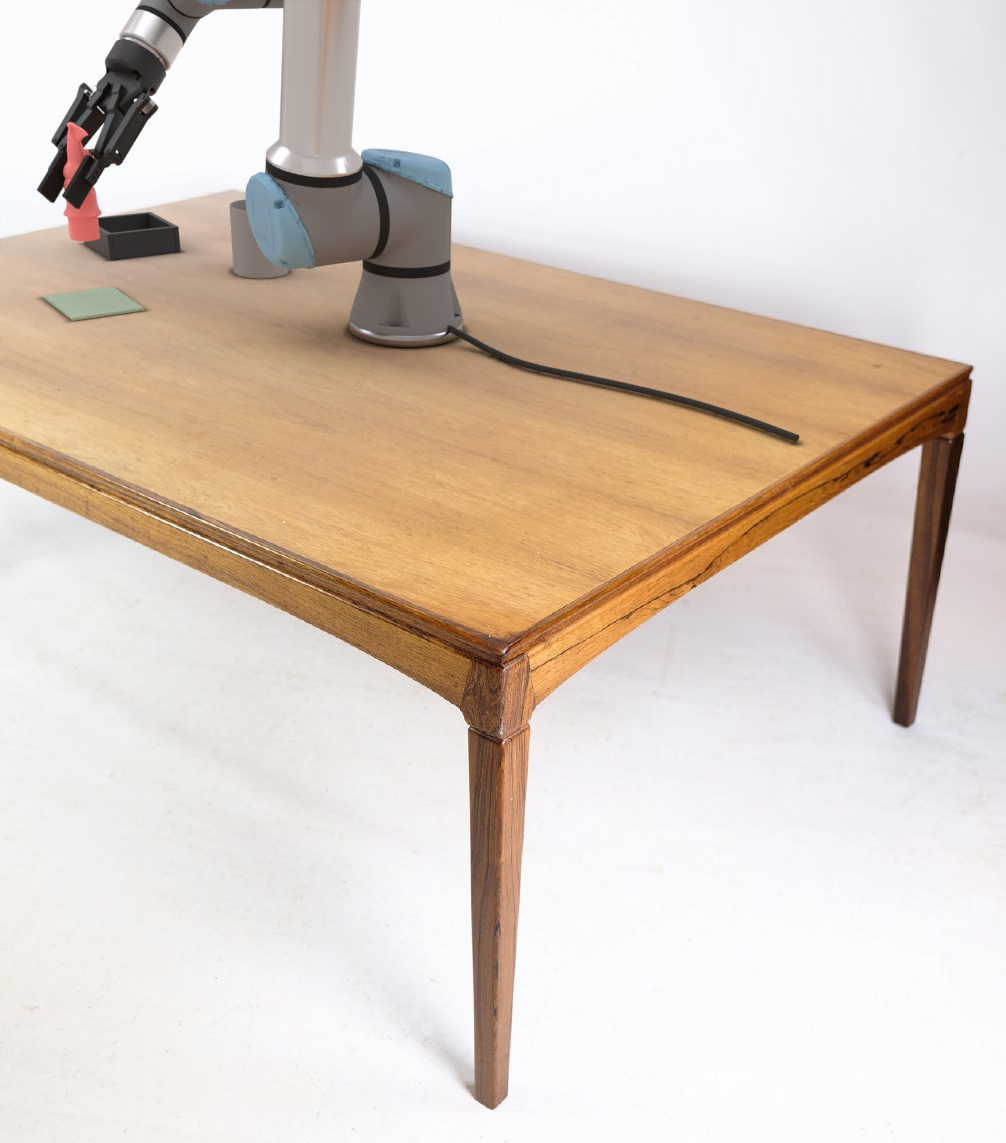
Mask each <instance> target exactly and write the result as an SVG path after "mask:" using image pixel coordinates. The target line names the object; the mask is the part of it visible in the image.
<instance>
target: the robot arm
mask: <svg viewBox="0 0 1006 1143" xmlns="http://www.w3.org/2000/svg"><path fill="white" fill-rule="evenodd" d="M361 7H362V0H140V1H139V3H138V5H137V6H136V8H135V9H134V11H133V12H132V13H131V15H130V16H129V19H127V21H126V23H125V25H124V26H123V28H122V29H121V31H120V32H119V34H118V36H119V37H118V39H117V40H116V41H115V42H114V43H113V45H112V47H111V49H110V50H109V52H108V53H107V55H106V57H105V58H104V66H105V74H104V75H103V76H102V77H101V78H100V79H99V80H98V81H97V83H96V85H92V86H89V85H88V84H87V83H86V82H82V83H80V84H79V86H78V89H77V92H76V97H75V99H74V100H73V101H72V103H71V105H70V106H69V109H68V110H67V112H66V114H65V115H64V117H63V119H62V120H61V122H60V124H59V126H58V128H57V129H56V131H55V133H54V134H53V136H52V138H51V140H50V141H51V143H52V145H54V146H55V148H56V149H57V153H56V154H55V156H54V158H53V159H52V161H51V162H50V164H49V166H48V168H47V172H46V173H45V175H44V176H43V178H42V180H41V182H40V183H39V184H38V187H37V188H36V192H38V193H39V194H40V195H41V196H42V197H44V198H45V199H46V200H47V201H48V202H49V203H52V204H55V202H56V201H57V199H58V197H59V196H60V194H61V192H62V190H64V181H65V179H66V178H65V177H64V174H63V169H64V166H65V165H66V163H67V160H68V157H67V135H68V127H67V123H69V122H73V123H75V124H76V126H79V127H81V128H82V129H84V130H85V131H86V132H87V134H88V136H86V137H84V138H83V139H82V140H81V143H82V145H83V148H84V149H85V147H86V146H87V145H88V143H89V142H90V141H91V140H92V138H94V136H95V135H96V134H97V132H98V131H99V130H100V128H101V130H100V132H99V135H98V138H97V140H96V143H95V145H94V147H93V148H88V149H89V150H88V151H89V152H90V153H91V154H92V155H93V158H92V157H91V156H90V155H86V156H85V157H84V159H83V161H82V162H81V164H80V166H79V167H78V169H77V171H76V172H75V174H74V176H73V178H72V179H71V181H70V183H69V184H68V186H67V188H66V189H65V191H63V192H62V195H61V197H62V198H63V199H64V200H65V201H66V200H67V201H68V202H69V203H70V204H71V205H72V206H73V207H74V208H76V209H80V207H81V205H82V204H83V202H84V200H85V198H86V197H87V195H88V193H89V192H90V190H91V188H92V186H94V187H95V185H96V184H97V183H98V182H99V179H100V177H101V176H102V174H103V172H104V171H105V170H106V169H108V168H109V167H111V166H112V165H115V166H116V167H119V166H121V165H122V164H123V162H124V161H125V159H126V158H127V156H128V154H129V153H130V151H131V149H132V147H133V146H134V144H135V143H136V141H137V139H138V138H139V136H140V135H141V133H142V131H143V129H144V127H145V126H146V124H147V123H148V121H149V120H150V119H151V118H152V117H153V116H154V115H155V114H156V113H157V111H158V110H159V105H158V104H157V103H156V102H155V101H154V100H153V99H152V98H151V97H153V96H155V95H156V94H157V92H158V90H159V89H160V87H161V85H162V84H163V82H164V80H165V78H166V77H167V72H168V71H169V70H170V69H172V68H171V67H172V66H173V64H174V63H175V61H176V59H177V58H178V55H179V53H180V52H181V50H182V49H183V48H184V46H185V44H186V42H187V40H188V38H189V37H190V35H191V33H192V32H193V31H194V29H195V27H196V26H197V24H198V23H199V22H200V20H202V19H203V18H205V17H207V16H209V15H210V14H211V13H213V12H214V11H220V10H260V9H282V33H281V34H282V36H281V38H282V40H281V67H280V68H281V70H280V97H279V99H280V100H279V101H280V102H279V132H278V139H277V140H276V141H274V143H272V145H270V146H269V147H268V148H267V149H266V151H265V164H264V165H265V168H264V172H263V171H262V172H261V171H259V172H257V173H255V174H253V175H251V176H250V177H249V179H248V182H247V183H246V186H245V193H244V194H245V196H244V199H245V201H246V210H247V215H248V220H249V224H250V227H251V230H252V233H253V235H254V237H255V240H256V242H257V244H258V246H259V248H260V250H261V251H262V253H263V254H264V256H265V257H266V258H267V259H268V260H269V261H270V262H271V263H272V264H273V265H275V266H276V267H278V268H281V269H285V270H289V271H290V270H300V269H301V270H302V269H304V270H312V269H314V268H320V267H326V266H327V267H328V266H332V265H333V266H334V265H339V264H347V263H353V262H360V261H362V271H361V272H362V273H361V277H360V280H359V283H358V288H357V290H356V292H355V296H354V300H353V303H352V306H351V309H350V313H349V331H350V333H351V334H352V335H353V336H355V337H356V338H358V339H360V340H362V341H365V342H367V343H372V344H375V345H381V346H388V347H401V348H403V347H404V348H415V347H416V348H417V347H429V346H436V345H443V344H445V343H448V342H451V341H454V340H456V339H458V338H460V339H462V340H464V341H465V342H466V343H469V344H471V345H472V346H474V347H476V348H478V349H479V350H481V351H483V352H485V353H486V354H490V355H491V356H493V357H495V358H498V359H500V360H501V361H504V362H507V363H510V364H512V365H515V366H519V367H521V368H525V369H527V370H531V371H536V372H539V373H543V374H548V375H554V376H558V377H562V378H569V379H573V380H578V381H581V382H587V383H592V384H596V385H602V386H606V387H611V388H615V389H619V390H625V391H628V392H629V391H630V392H633V393H638V394H642V395H647V396H651V397H655V398H658V399H663V400H668V401H671V402H676V403H679V404H682V405H686V406H690V407H692V408H697V409H700V410H704V411H706V412H709V413H713V414H716V415H719V416H721V417H726V418H728V419H732V420H735V421H737V422H740V423H742V424H746V425H749V426H751V427H754V428H757V429H760V430H763V431H766V432H769V433H771V434H774V435H776V436H779V437H782V438H783V439H786V440H789V441H792V442H795V443H797V442H799V440H800V434H797V433H796V432H795V433H794V432H792V431H789V430H786V429H784V428H781V427H778V426H776V425H773V424H771V423H769V422H768V423H767V422H766V421H762V420H759V419H756V418H754V417H750V416H748V415H745V414H742V413H738V412H736V411H733V410H730V409H727V408H723V407H720V406H718V405H714V404H711V403H707V402H703V401H701V400H696V399H694V398H690V397H686V396H682V395H679V394H675V393H672V392H667V391H663V390H660V389H659V390H658V389H655V388H651V387H646V386H641V385H637V384H634V383H633V384H632V383H629V382H624V381H620V380H616V379H615V380H614V379H610V378H605V377H600V376H595V375H591V374H586V373H581V372H577V371H572V370H565V369H561V368H556V367H552V366H547V365H542V364H538V363H535V362H530V361H527V360H524V359H521V358H518V357H515V356H512V355H509V354H507V353H505V352H503V351H500V350H498V349H496V348H494V347H491V346H490V345H488V344H485V343H484V342H482V341H480V340H479V339H477V338H475V337H473V336H472V335H470V334H468V333H466V332H464V316H463V311H462V308H461V305H460V301H459V298H458V295H457V292H456V288H455V285H454V282H453V278H452V274H451V273H452V272H451V267H452V266H451V264H452V262H451V261H452V260H451V258H452V214H453V211H452V210H453V207H452V206H453V199H454V192H453V180H452V171H451V168H450V166H449V164H447V162H445V161H444V160H442V159H440V158H438V157H435V156H431V155H427V154H423V153H418V152H412V151H406V150H399V149H390V148H366V149H362V151H361V152H360V154H359V152H357V150H355V149H354V148H353V132H354V131H353V128H354V114H355V98H356V84H357V82H356V81H357V70H358V69H357V68H358V53H359V38H360V23H361V22H360V20H361V9H362V8H361Z"/></svg>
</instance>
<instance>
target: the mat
mask: <svg viewBox="0 0 1006 1143" xmlns="http://www.w3.org/2000/svg"><path fill="white" fill-rule="evenodd" d="M42 297H43V299H44V300H45V301H46V302H48V303H49V304H50V305H52V306H53V307H54V308H55V309H56V310H58V311H59V312H60V313H63V315H64V316H66V317H67V318H68V319H70V320H71V321H72V322H75V321H81V320H89V319H94V318H101V317H109V316H115V315H123V314H130V313H136V312H137V313H138V312H144V311H145V307H144V306H142V305H140V304H139V303H137V302H136V301H135V300H133V299H132V298H131V297H129V296H127V295H126V294H125V293H123V292H121V291H120V290H119V289H117V288H116V287H114V286H106V287H105V286H104V287H97V288H91V289H83V290H75V291H68V292H61V293H53V294H45V295H43V296H42Z"/></svg>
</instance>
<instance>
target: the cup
mask: <svg viewBox="0 0 1006 1143" xmlns="http://www.w3.org/2000/svg"><path fill="white" fill-rule="evenodd" d="M229 219H230V220H229V222H230V234H231V236H230V237H231V253H232V268H233V274H235V275H237V276H239V277H243V278H244V277H245V278H249V279H271V278H272V279H273V278H278V277H283V276H285V275H287V274H289V271H290V269H289V270H285V269H281V268H278V267H276V266H275V265H273V264H272V263H271V262H270V261H269V260H268V259H267V258H266V257H265V256H264V254H263V253H262V251H261V250H260V248H259V246H258V244H257V242H256V240H255V237H254V235H253V233H252V230H251V227H250V224H249V220H248V215H247V210H246V201H245V198H244V199H237V200H234V201H232V202H230V203H229Z"/></svg>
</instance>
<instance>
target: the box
mask: <svg viewBox="0 0 1006 1143" xmlns="http://www.w3.org/2000/svg"><path fill="white" fill-rule="evenodd" d="M98 222H99V232H100V238H99V239H97V240H93V241H83V243H84V244H83V245H85V246H86V247H88V248H90V249H91V250H93V251H95V252H96V253H98V254H100V255H101V256H102V257H104V258H105V259H107V260H108V261H115V260H124V259H132V258H141V257H149V256H157V255H165V254H173V253H181V238H180V228H179V226H178V225H176V224H174V223H173V222H170V221H169V220H167V219H166V218H163V217H161V216H160V215H157V214H156V213H154V212H152V211H144V212H137V213H136V212H135V213H126V214H116V215H115V214H114V215H108V216H106V215H105V216H98Z"/></svg>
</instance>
